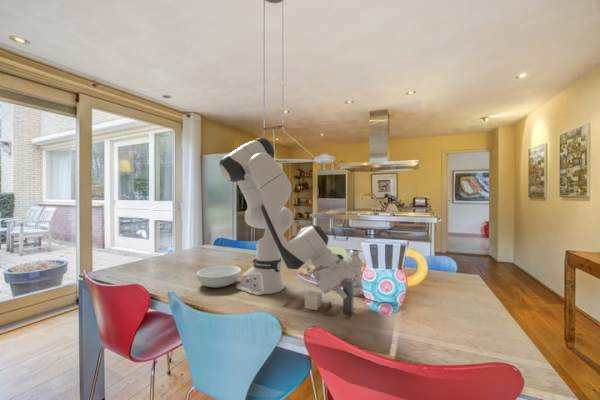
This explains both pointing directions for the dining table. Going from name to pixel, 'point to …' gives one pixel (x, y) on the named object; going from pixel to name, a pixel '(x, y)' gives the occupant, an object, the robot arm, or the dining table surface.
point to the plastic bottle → (356, 271)
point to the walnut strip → (329, 304)
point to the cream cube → (313, 300)
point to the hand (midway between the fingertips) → (349, 295)
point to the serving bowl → (218, 276)
